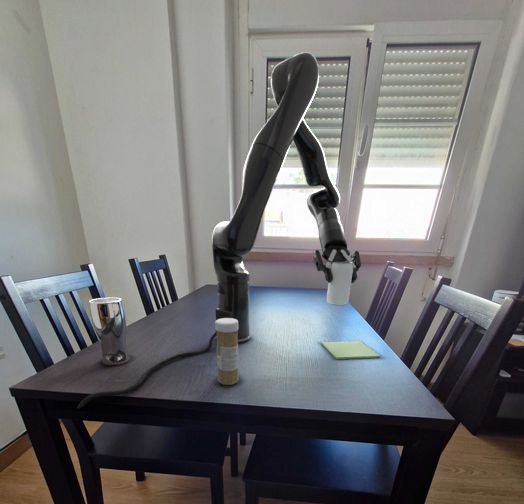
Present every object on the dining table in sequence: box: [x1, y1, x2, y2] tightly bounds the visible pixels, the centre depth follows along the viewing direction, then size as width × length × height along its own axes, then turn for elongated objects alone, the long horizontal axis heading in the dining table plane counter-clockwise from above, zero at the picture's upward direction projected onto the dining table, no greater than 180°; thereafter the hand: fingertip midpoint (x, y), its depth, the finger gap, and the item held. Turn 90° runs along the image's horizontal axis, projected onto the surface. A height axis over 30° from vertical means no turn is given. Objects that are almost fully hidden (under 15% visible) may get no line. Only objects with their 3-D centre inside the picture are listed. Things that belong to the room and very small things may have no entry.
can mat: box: [321, 340, 381, 360], centre depth 79 cm, size 12×12×1 cm
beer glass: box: [88, 297, 131, 366], centre depth 67 cm, size 7×7×15 cm
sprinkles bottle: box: [214, 318, 240, 386], centre depth 58 cm, size 5×5×13 cm
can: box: [326, 261, 353, 307], centre depth 83 cm, size 6×6×12 cm
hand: (342, 281), depth 81 cm, fingers closed on can, 6 cm apart
